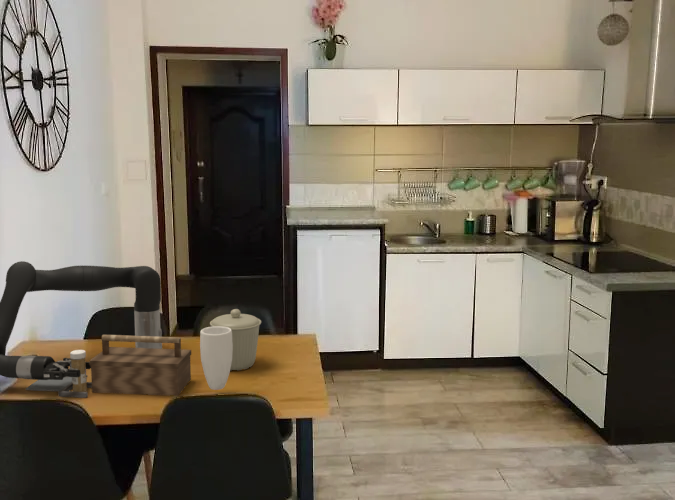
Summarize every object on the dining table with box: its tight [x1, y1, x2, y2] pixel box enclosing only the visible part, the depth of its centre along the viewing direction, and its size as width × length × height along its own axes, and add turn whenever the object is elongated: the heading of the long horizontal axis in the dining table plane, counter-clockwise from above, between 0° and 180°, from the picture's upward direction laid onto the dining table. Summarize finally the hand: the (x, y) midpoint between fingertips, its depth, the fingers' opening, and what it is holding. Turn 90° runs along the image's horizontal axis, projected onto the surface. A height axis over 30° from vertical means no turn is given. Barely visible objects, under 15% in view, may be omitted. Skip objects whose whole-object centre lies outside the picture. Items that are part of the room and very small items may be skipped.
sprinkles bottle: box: [69, 349, 88, 393], centre depth 211 cm, size 5×5×13 cm
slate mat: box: [25, 374, 88, 392], centre depth 219 cm, size 14×14×1 cm
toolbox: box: [57, 334, 192, 399], centre depth 215 cm, size 37×19×17 cm, turn 86°
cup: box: [199, 326, 233, 391], centre depth 209 cm, size 10×10×22 cm
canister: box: [209, 308, 262, 371], centre depth 237 cm, size 18×18×21 cm
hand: (85, 369), depth 211 cm, fingers open, 7 cm apart
